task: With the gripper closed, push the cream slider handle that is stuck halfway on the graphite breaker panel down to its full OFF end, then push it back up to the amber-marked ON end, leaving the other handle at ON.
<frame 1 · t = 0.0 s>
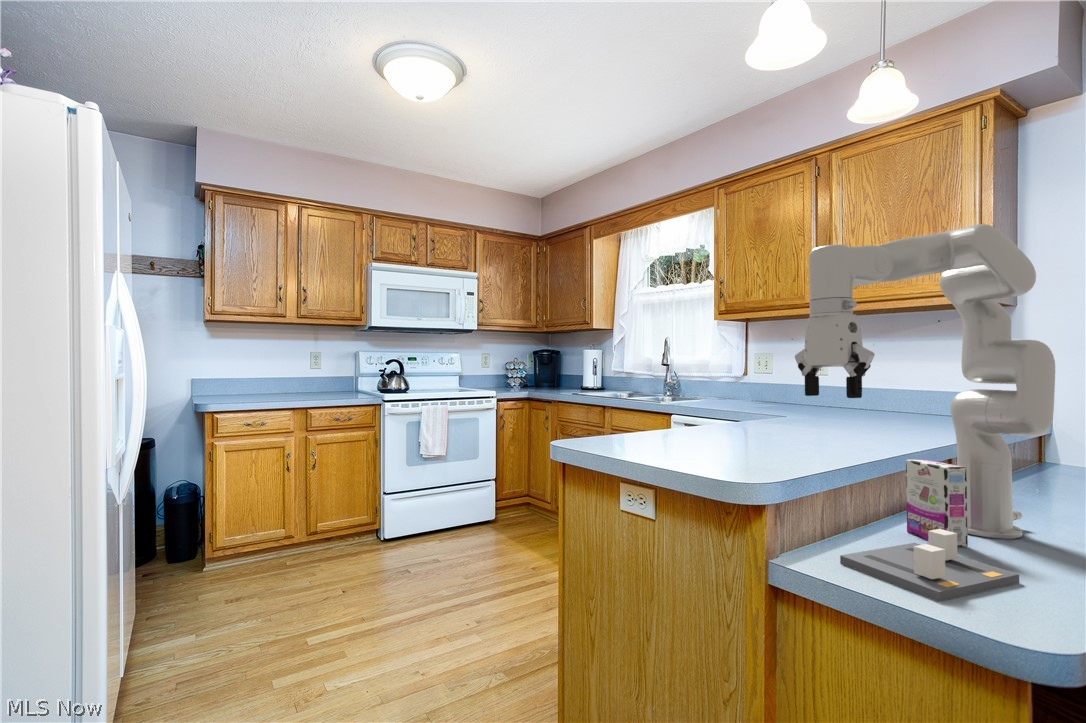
hand: (832, 396, 106), 31 cm above the table, fingers open, 9 cm apart
breaker a: (929, 561, 91), point 4 cm above the table, slide at 10.0 cm
tripped breaker: (942, 544, 99), point 4 cm above the table, slide at 5.0 cm
candy bar box: (936, 540, 115), on the table
breaker panel: (925, 572, 97), on the table
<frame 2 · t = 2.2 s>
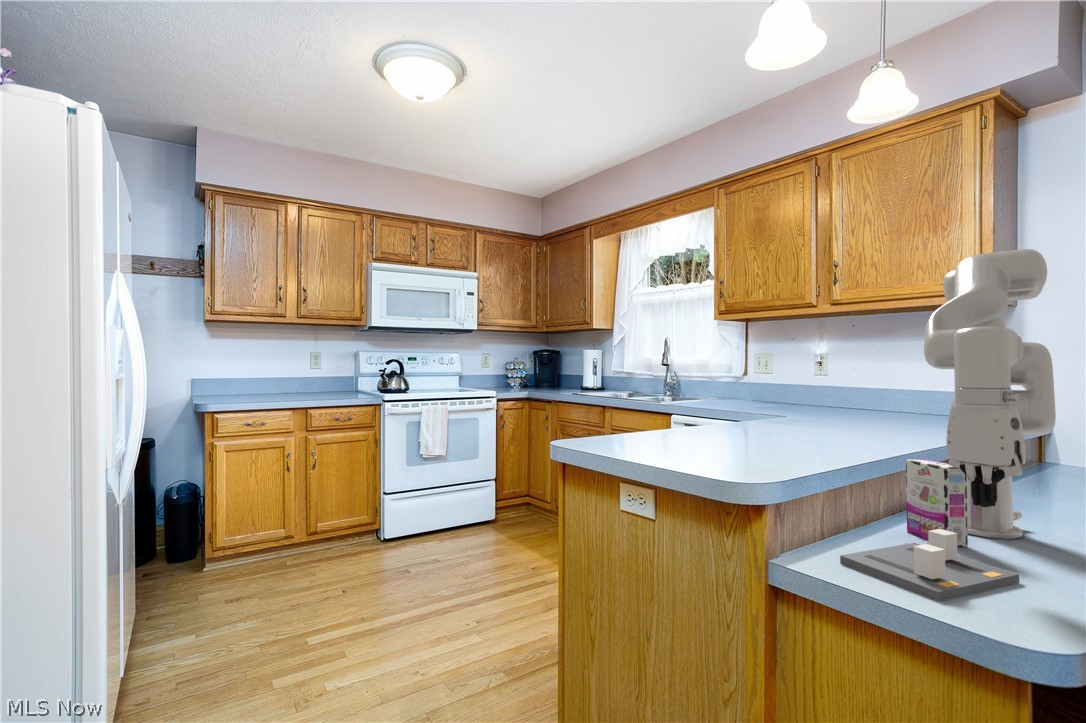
hand: (984, 505, 93), 13 cm above the table, fingers closed
nothing on the table moved.
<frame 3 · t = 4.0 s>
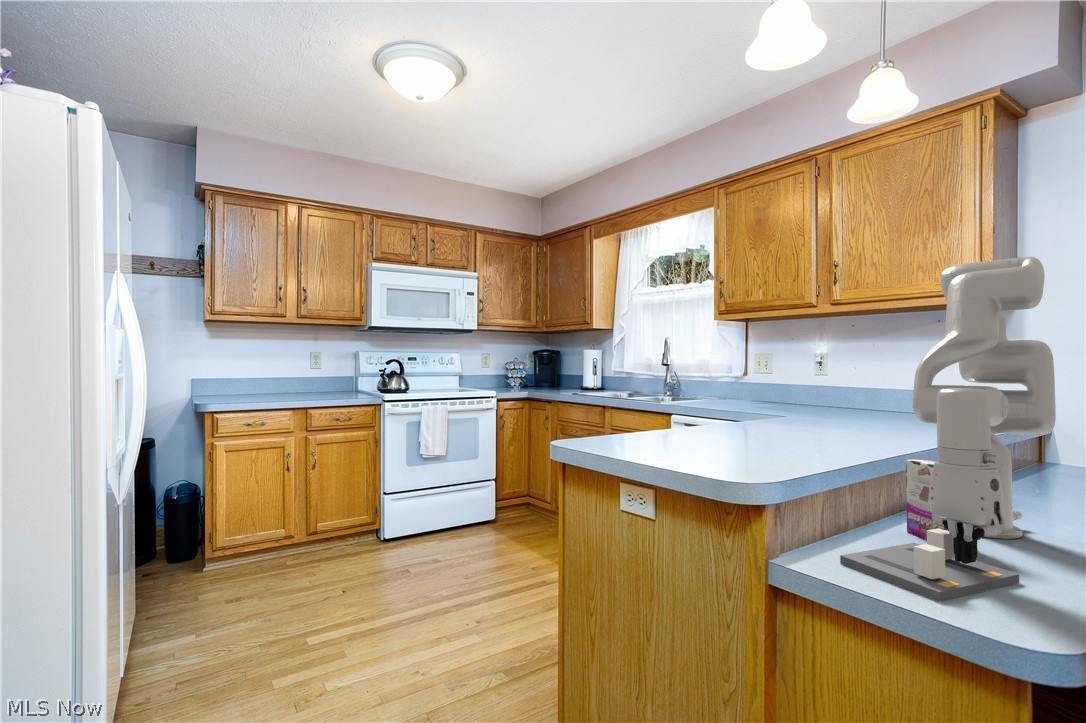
hand: (965, 561, 96), 2 cm above the table, fingers closed
tripped breaker: (941, 543, 99), point 4 cm above the table, slide at 4.7 cm, touching gripper
everything else where it was.
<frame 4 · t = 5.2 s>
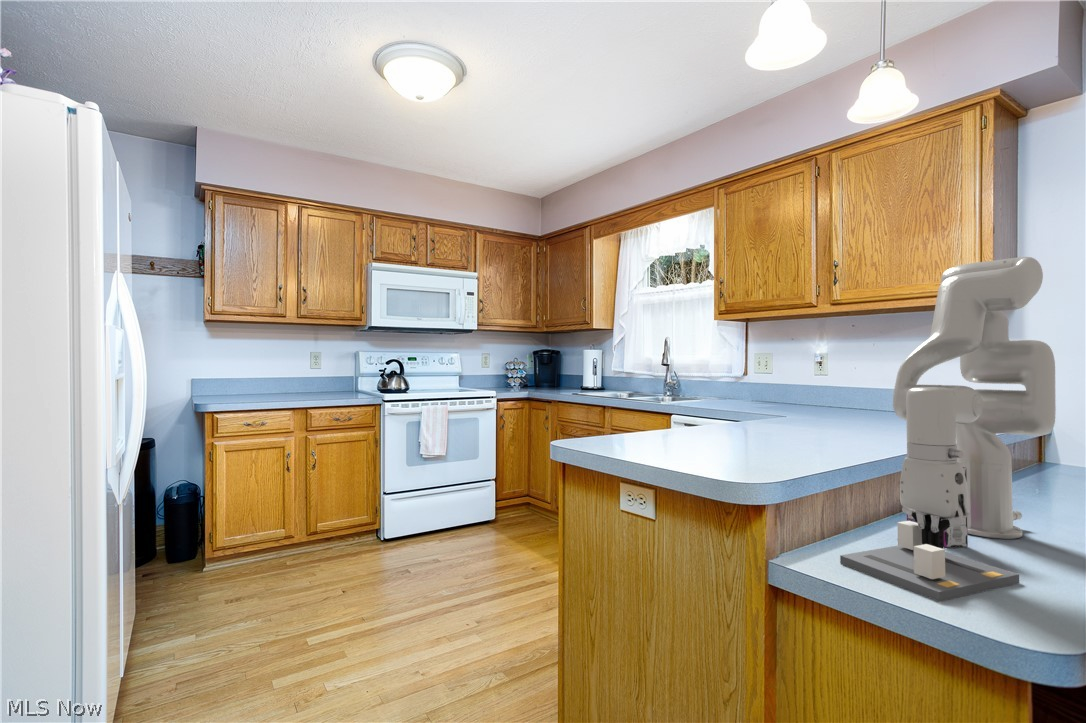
hand: (932, 551, 101), 2 cm above the table, fingers closed
tripped breaker: (910, 535, 105), point 4 cm above the table, slide at -0.9 cm, touching gripper
everything else where it was.
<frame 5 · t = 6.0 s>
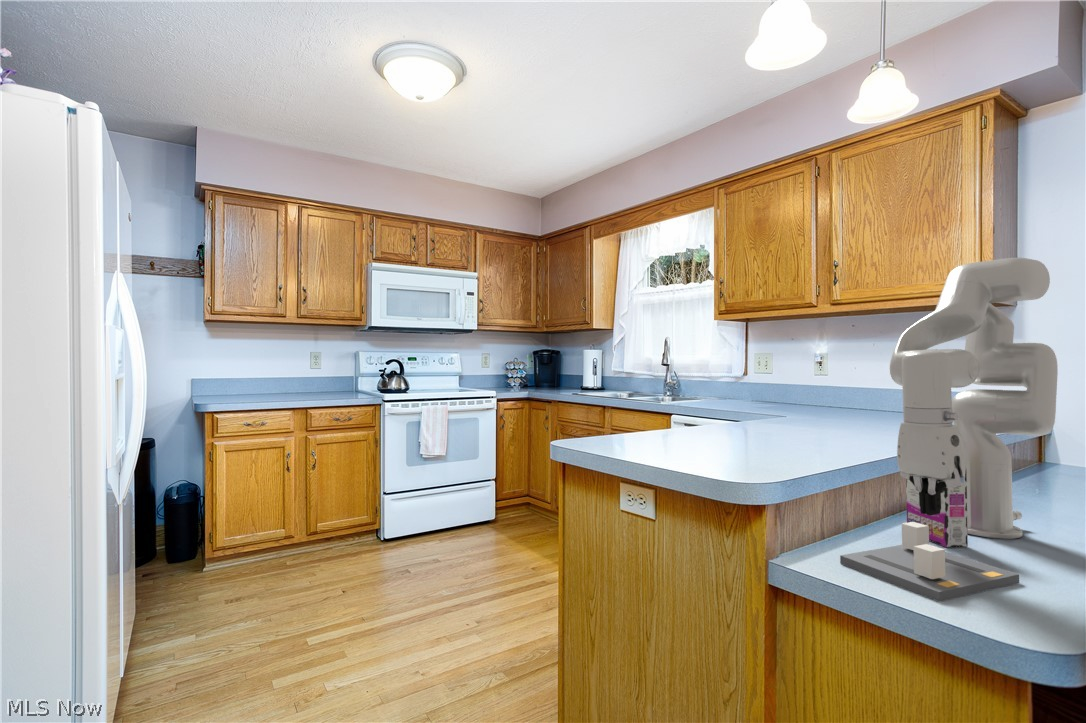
hand: (930, 513, 102), 9 cm above the table, fingers closed
tripped breaker: (915, 536, 104), point 4 cm above the table, slide at -0.1 cm
everything else where it was.
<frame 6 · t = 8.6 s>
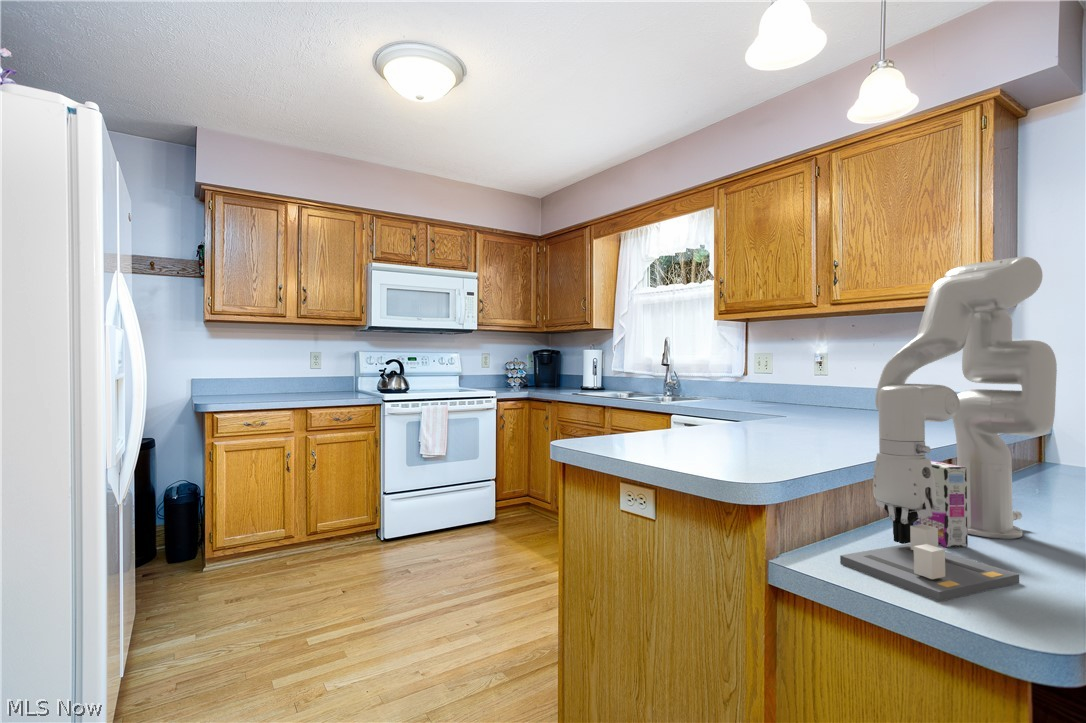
hand: (903, 541, 106), 3 cm above the table, fingers closed
tripped breaker: (924, 538, 102), point 4 cm above the table, slide at 1.6 cm, touching gripper
everything else where it was.
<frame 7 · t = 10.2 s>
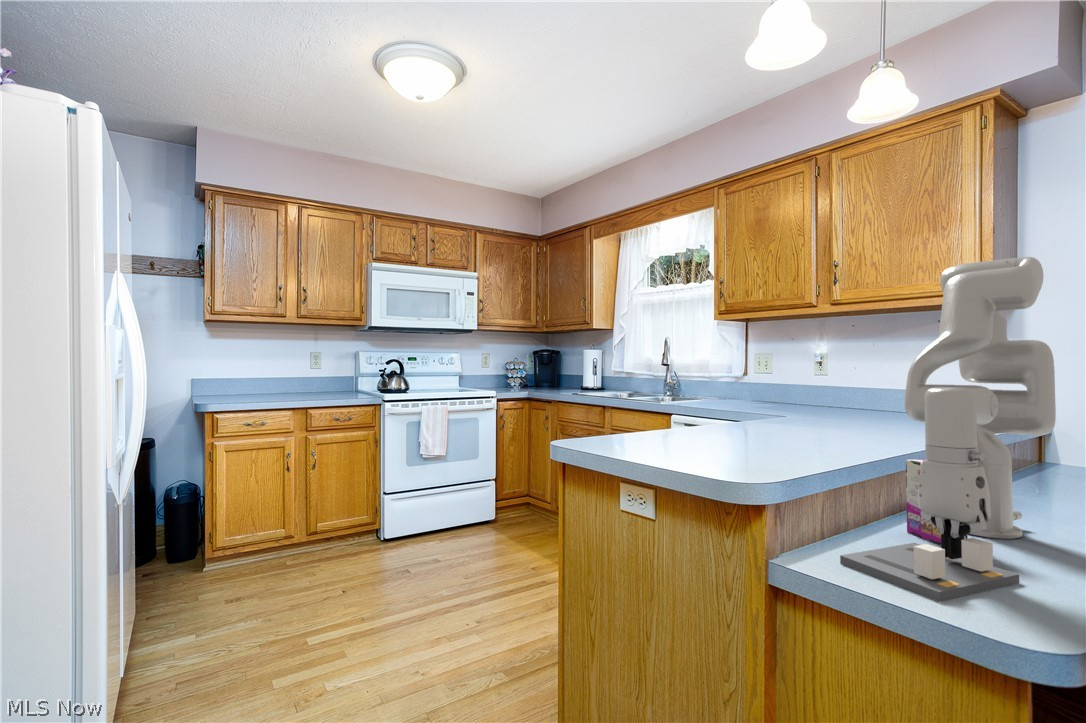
hand: (952, 556, 98), 2 cm above the table, fingers closed
tripped breaker: (977, 554, 94), point 4 cm above the table, slide at 10.7 cm, touching gripper
everything else where it was.
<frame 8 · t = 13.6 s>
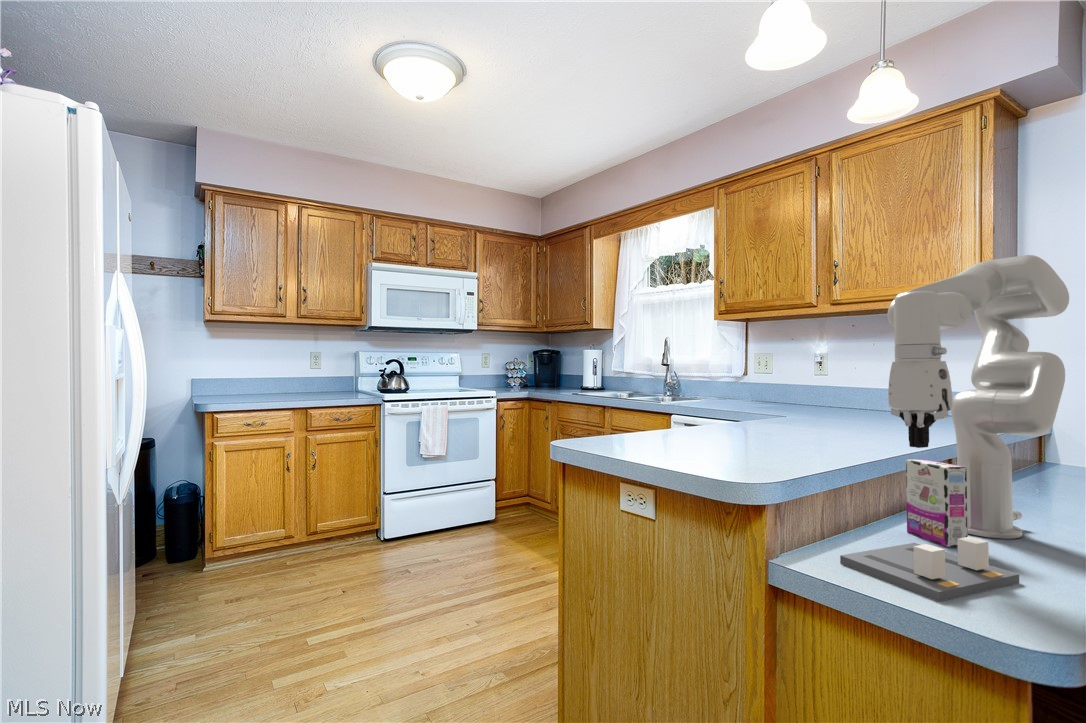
hand: (918, 446, 107), 21 cm above the table, fingers closed
tripped breaker: (972, 553, 94), point 4 cm above the table, slide at 10.1 cm
everything else where it was.
at the end: tripped breaker slide at 10.1 cm; breaker a slide at 10.0 cm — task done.
